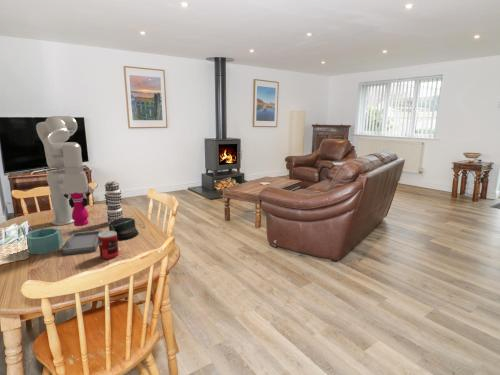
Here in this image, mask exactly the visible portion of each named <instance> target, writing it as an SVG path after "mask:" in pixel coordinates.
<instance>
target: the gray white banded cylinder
mask: <svg viewBox="0 0 500 375" xmlns="http://www.w3.org/2000/svg"><path fill="white" fill-rule="evenodd" d="M104 188H105V194H104V199H105V205H106V208H107V212H106V215H107V216H106V217H107V222H108V225H109V224H110V223H111V222H112V221H113V220H117V219H119V218H124V215H123V210H122V209H123V208H122V205H121V204H122V203H123V202H122V201H121V200H122V196H121V195H122V190H120V189H121V188H120V183H118V182H117V181H108V182H106V183H105V184H104Z"/></svg>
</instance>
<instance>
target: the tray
mask: <svg viewBox="0 0 500 375" xmlns="http://www.w3.org/2000/svg"><path fill="white" fill-rule="evenodd" d="M101 232H103V229H100V230H99V229H98V230H91V231H90V230H89V231H80V232H79V231H78V232H72V234H71V235H70V236H69V238H68V239H67V242H66V243H65V244H64V246H63V247H62V249H61V254H62V256H67V255H75V254H76V255H77V254H85V253H93V252H94V253H95V252H96V251H97V248H99V242H98V234H99V233H101Z"/></svg>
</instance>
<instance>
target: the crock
mask: <svg viewBox="0 0 500 375" xmlns="http://www.w3.org/2000/svg"><path fill="white" fill-rule="evenodd" d="M25 236H26V237H27V245H28V251H29V253H28V254H30V253H31V254H30V255H33V254H34V255H33V256H36V255H35V254H38V255H45V254H49V253H52V252H54V251H58V250H59V249H61V247H62V245H63V238H62V232H61V229H59V228H56V227H45V228H38V229H36V230H32V231H30V232H27V233H26V235H25Z"/></svg>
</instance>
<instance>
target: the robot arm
mask: <svg viewBox="0 0 500 375" xmlns="http://www.w3.org/2000/svg"><path fill="white" fill-rule="evenodd" d="M35 129H36V133H37V135H38V137H39V140H40V141H41V142H42V144H43V148H44V154H45V158H46V164H47V166H48V168H50V169H59V170H52V171H50V172H47V174H46V182H47V184H48V189H49V192H50V197H51V204H52V211H53V217H54V219H53V220H52V221H51V224H52V225H54V226H65V225H70V224H74V221H75V220H73V219H72V212H73V209H72V208H74V202H73V200H72V199H73V198H72V197H71V195H70V194H74V193H76V192H77V193H80V194H82V193H83V197H84V199H83V203H84V207H85V208H86V207H87V206H88V205H89V202H88V201H89V200H88V197H90V195H92V194H93V193H95V189H94V188H93V187H92V186H90V185H89V181H88V176H87V174H86V171H84V166H83V158H82V147H81V144H79V143H78V142H75V141H70V142H67V141H68V140H69V139H70V137H71V136H73V135H74V134H75V133H76V132H77V130H78V122H77V120H76V119H75V118H74V116H71V115H52V116H48V117H47V118H46V119H45V121H41V122H38V123H36V125H35Z"/></svg>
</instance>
